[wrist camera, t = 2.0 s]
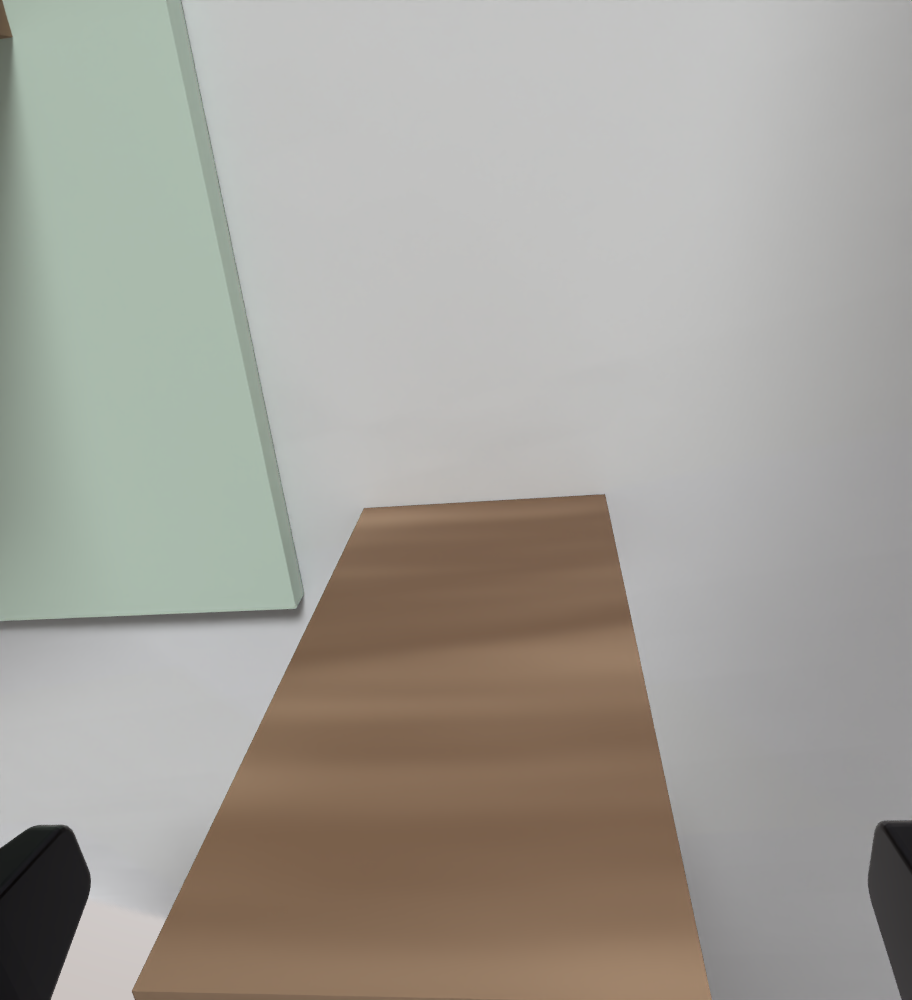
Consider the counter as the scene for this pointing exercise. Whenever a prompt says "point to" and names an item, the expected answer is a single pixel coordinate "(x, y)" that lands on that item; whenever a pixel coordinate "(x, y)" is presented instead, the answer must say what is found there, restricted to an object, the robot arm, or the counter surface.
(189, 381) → the board
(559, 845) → the domino
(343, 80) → the counter surface
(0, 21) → the domino
